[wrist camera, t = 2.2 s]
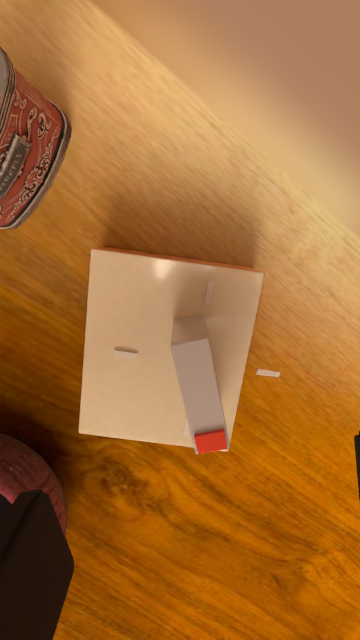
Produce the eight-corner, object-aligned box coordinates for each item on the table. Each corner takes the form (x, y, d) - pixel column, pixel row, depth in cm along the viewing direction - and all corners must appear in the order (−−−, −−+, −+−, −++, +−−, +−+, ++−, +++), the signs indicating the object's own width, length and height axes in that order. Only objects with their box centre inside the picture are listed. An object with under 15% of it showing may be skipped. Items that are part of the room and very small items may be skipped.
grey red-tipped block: (172, 320, 19) (169, 346, 15) (202, 314, 19) (208, 338, 15) (192, 408, 21) (195, 458, 16) (220, 403, 21) (231, 451, 16)
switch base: (103, 246, 21) (89, 248, 18) (285, 272, 22) (302, 278, 19) (90, 409, 24) (77, 435, 21) (250, 430, 25) (260, 457, 22)
